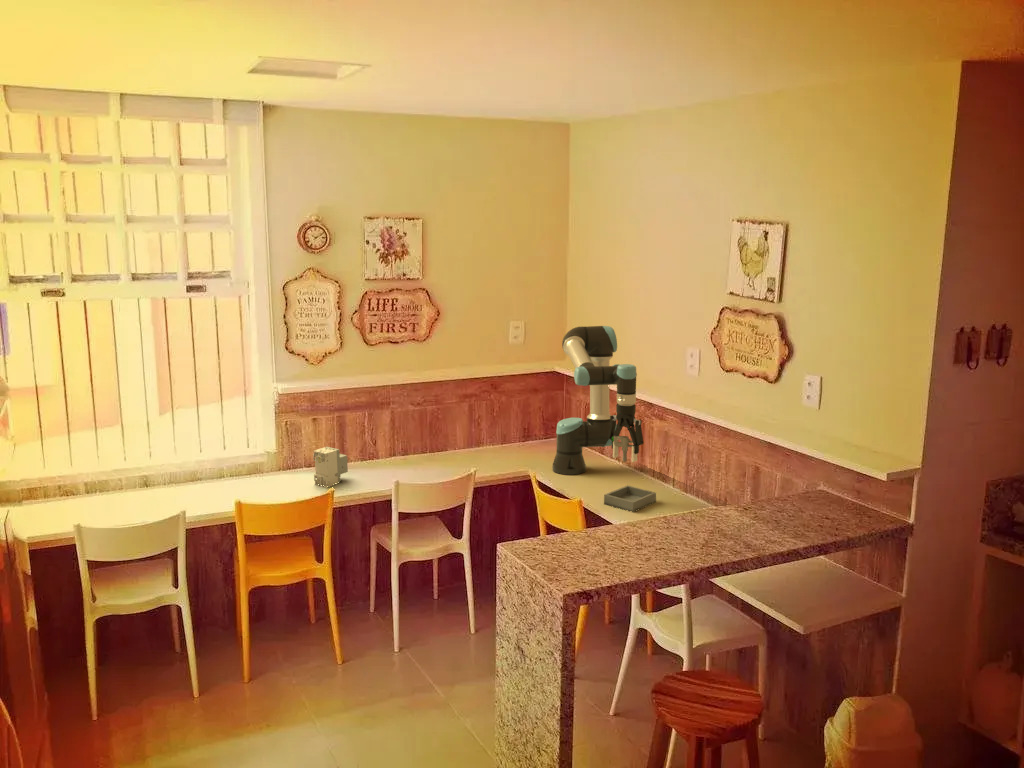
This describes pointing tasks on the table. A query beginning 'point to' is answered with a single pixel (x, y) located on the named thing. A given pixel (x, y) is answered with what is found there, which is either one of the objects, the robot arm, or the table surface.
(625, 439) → the mechanical component
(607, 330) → the robot arm
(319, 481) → the circuit breaker
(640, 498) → the parts tray
